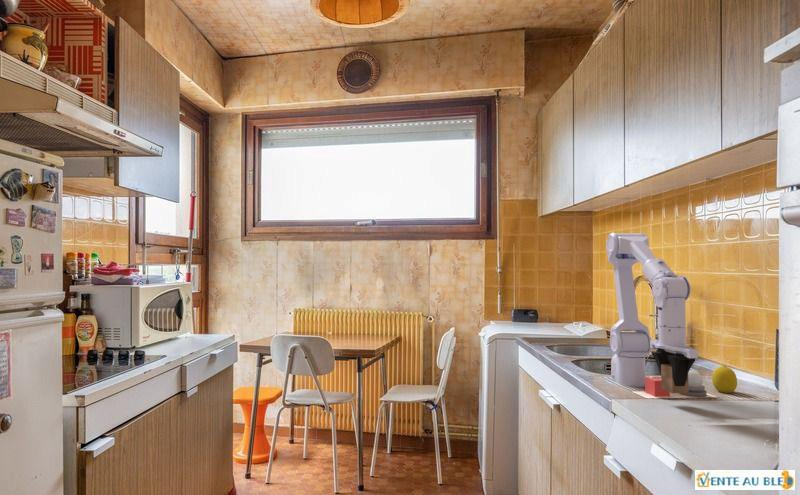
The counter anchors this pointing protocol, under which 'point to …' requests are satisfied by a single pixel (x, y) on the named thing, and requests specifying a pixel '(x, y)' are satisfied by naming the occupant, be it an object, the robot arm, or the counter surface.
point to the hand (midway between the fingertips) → (673, 383)
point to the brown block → (671, 380)
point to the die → (655, 387)
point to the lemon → (724, 379)
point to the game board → (677, 395)
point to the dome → (695, 382)
